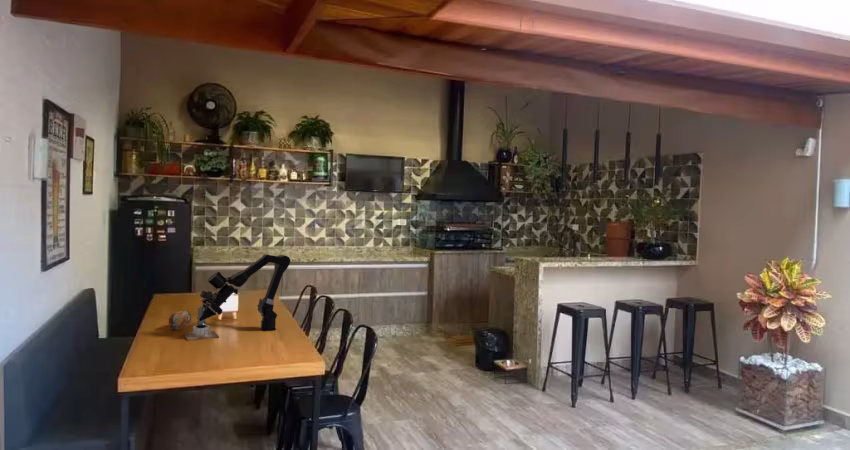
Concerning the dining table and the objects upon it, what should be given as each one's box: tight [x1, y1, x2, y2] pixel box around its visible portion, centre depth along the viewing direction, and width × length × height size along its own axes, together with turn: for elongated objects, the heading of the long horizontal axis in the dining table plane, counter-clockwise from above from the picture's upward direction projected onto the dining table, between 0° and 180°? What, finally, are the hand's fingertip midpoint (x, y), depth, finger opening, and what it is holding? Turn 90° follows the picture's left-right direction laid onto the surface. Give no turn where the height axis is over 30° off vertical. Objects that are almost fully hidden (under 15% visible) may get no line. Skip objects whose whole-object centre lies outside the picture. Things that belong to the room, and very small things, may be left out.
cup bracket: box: [192, 324, 211, 337], centre depth 267 cm, size 7×7×4 cm
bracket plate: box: [183, 330, 220, 341], centre depth 267 cm, size 14×12×1 cm
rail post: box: [196, 306, 207, 328], centre depth 267 cm, size 4×4×12 cm
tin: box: [168, 310, 192, 331], centre depth 283 cm, size 15×3×8 cm, turn 168°
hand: (198, 319), depth 266 cm, fingers closed on rail post, 4 cm apart
